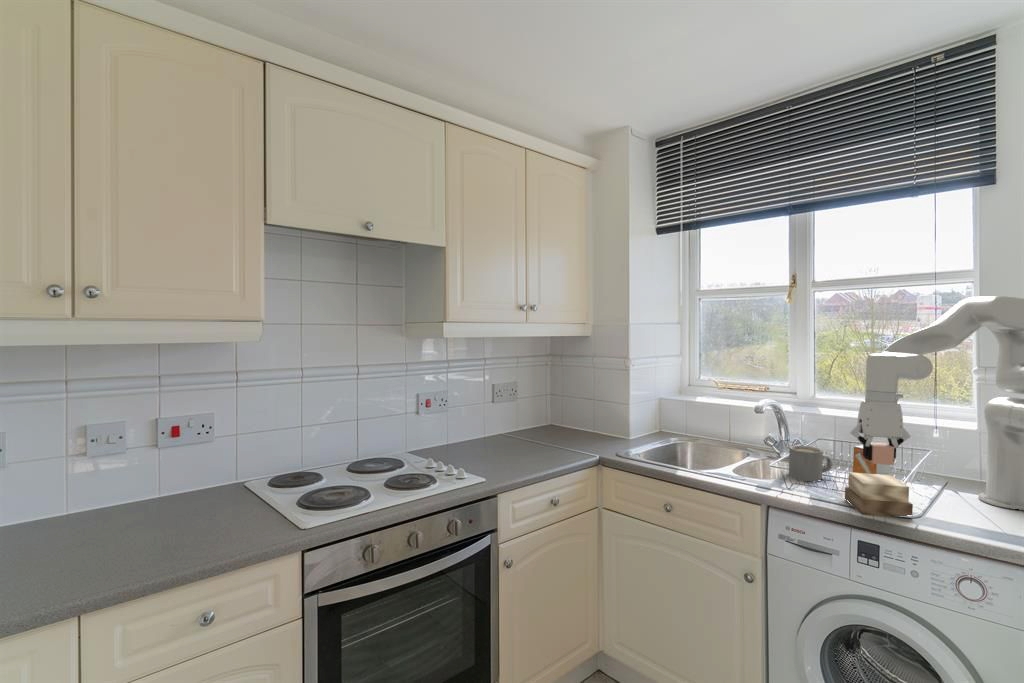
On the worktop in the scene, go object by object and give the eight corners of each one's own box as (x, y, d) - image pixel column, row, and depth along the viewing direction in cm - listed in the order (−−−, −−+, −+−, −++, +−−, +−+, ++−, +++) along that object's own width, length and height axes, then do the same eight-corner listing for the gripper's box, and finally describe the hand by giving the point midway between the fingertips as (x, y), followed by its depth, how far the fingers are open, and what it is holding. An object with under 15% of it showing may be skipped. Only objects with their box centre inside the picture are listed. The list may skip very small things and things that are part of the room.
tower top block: (890, 490, 150) (891, 475, 150) (908, 503, 139) (909, 487, 139) (848, 486, 153) (848, 472, 153) (862, 499, 142) (862, 483, 142)
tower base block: (889, 504, 150) (890, 490, 150) (912, 520, 139) (912, 504, 138) (844, 501, 153) (845, 486, 153) (862, 516, 141) (863, 500, 141)
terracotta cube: (884, 460, 147) (885, 443, 147) (893, 464, 142) (894, 447, 142) (865, 459, 148) (865, 442, 148) (873, 463, 143) (873, 446, 143)
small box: (851, 484, 167) (853, 445, 167) (866, 482, 169) (867, 444, 169) (875, 492, 160) (877, 451, 159) (890, 490, 162) (891, 450, 161)
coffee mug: (792, 480, 172) (792, 451, 172) (786, 472, 181) (786, 444, 181) (837, 484, 168) (838, 454, 167) (828, 475, 177) (829, 447, 177)
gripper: (908, 396, 146) (906, 458, 147) (842, 394, 150) (840, 454, 151) (923, 400, 139) (920, 465, 140) (853, 397, 143) (851, 461, 143)
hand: (879, 459), depth 145 cm, fingers closed on terracotta cube, 5 cm apart
